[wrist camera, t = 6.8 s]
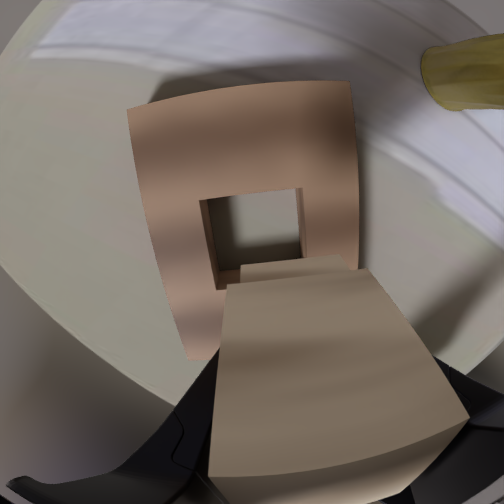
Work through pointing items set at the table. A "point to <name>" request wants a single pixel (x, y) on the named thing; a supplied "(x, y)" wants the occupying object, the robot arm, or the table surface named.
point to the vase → (466, 73)
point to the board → (242, 182)
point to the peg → (323, 389)
